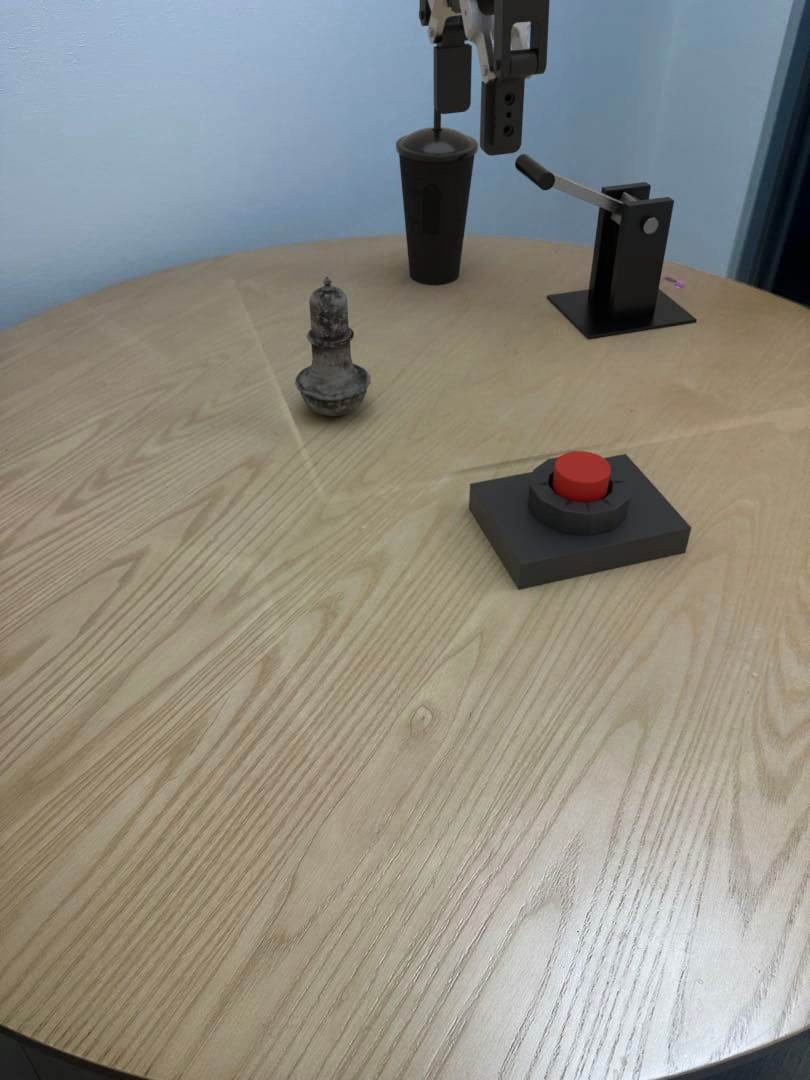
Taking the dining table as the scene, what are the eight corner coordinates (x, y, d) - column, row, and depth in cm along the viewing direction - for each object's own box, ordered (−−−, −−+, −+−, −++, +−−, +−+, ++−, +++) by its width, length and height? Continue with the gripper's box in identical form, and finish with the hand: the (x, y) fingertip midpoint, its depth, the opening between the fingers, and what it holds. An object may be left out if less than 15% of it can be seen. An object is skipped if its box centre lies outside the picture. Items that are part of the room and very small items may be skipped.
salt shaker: (286, 430, 74) (272, 287, 67) (316, 394, 79) (307, 255, 71) (355, 444, 73) (348, 299, 65) (382, 407, 77) (379, 266, 70)
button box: (621, 478, 69) (629, 432, 67) (685, 553, 63) (697, 505, 60) (468, 508, 66) (470, 461, 64) (518, 590, 60) (523, 541, 57)
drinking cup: (487, 287, 95) (499, 70, 82) (425, 305, 92) (428, 83, 79) (442, 261, 100) (447, 54, 87) (382, 279, 97) (378, 65, 84)
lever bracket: (586, 348, 85) (604, 218, 77) (545, 306, 91) (557, 183, 84) (694, 331, 87) (721, 203, 80) (646, 291, 94) (667, 170, 87)
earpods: (665, 300, 96) (652, 290, 95) (674, 286, 96) (661, 276, 95) (681, 300, 93) (668, 291, 92) (690, 286, 93) (677, 276, 92)
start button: (592, 468, 64) (595, 446, 63) (617, 498, 61) (620, 476, 60) (543, 477, 63) (546, 455, 62) (566, 508, 60) (569, 486, 59)
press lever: (533, 192, 76) (547, 164, 75) (509, 173, 80) (522, 145, 79) (653, 242, 82) (667, 216, 81) (625, 221, 86) (639, 196, 85)
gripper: (620, -223, 41) (583, 161, 51) (503, -225, 51) (492, 93, 62) (456, -217, 39) (452, 177, 50) (370, -221, 50) (382, 105, 60)
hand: (474, 130), depth 56 cm, fingers open, 8 cm apart
